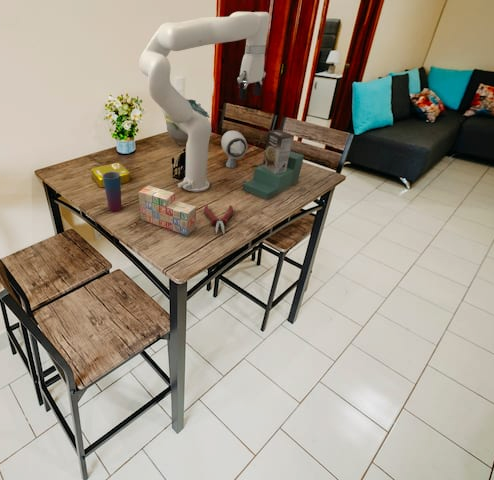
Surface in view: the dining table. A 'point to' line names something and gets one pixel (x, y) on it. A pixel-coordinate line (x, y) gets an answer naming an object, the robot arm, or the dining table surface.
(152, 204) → the stack of blocks
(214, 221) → the pliers
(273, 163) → the coffee box
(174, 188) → the dining table surface
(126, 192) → the dining table surface
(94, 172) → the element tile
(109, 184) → the cup
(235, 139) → the white rounded piece
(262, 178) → the step shelf
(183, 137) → the potted succulent plant
